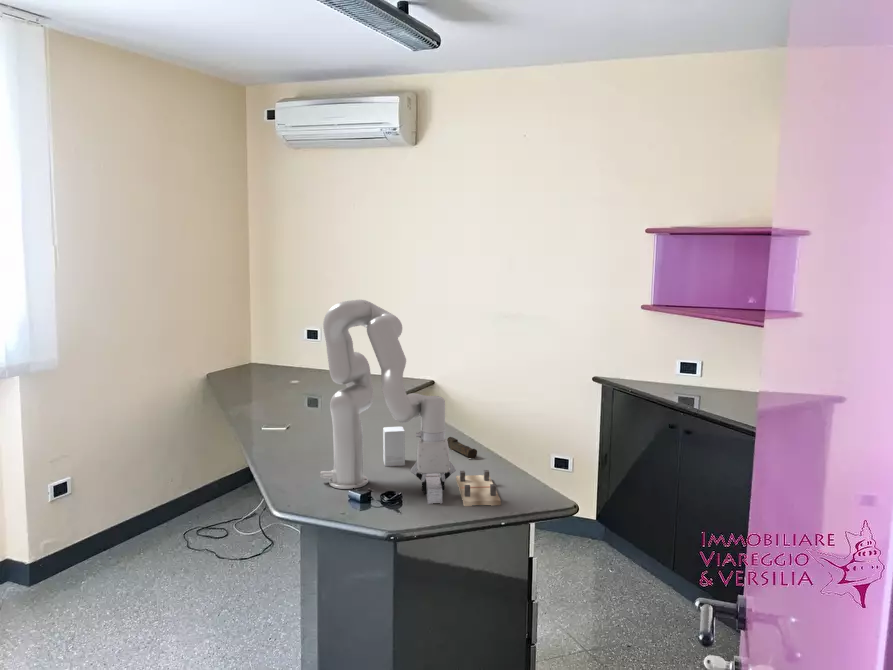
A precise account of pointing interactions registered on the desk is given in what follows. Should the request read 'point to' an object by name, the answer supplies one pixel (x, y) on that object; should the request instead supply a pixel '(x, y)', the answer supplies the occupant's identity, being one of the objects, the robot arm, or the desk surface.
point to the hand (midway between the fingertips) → (433, 492)
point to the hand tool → (461, 448)
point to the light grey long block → (433, 488)
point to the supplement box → (393, 446)
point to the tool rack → (477, 489)
